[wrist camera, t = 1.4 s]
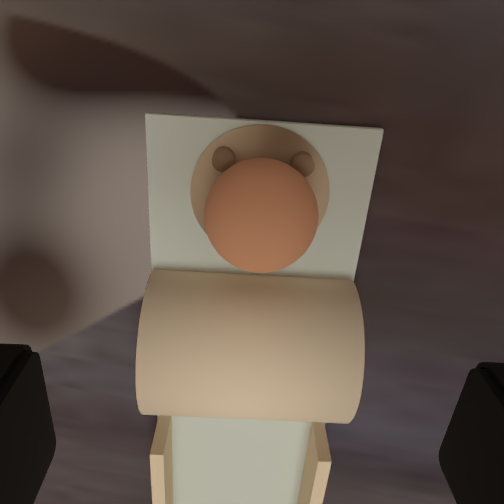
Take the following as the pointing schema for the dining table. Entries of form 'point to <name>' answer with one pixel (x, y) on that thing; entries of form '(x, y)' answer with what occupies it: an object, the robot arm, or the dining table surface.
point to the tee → (258, 146)
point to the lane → (249, 330)
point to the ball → (261, 215)
